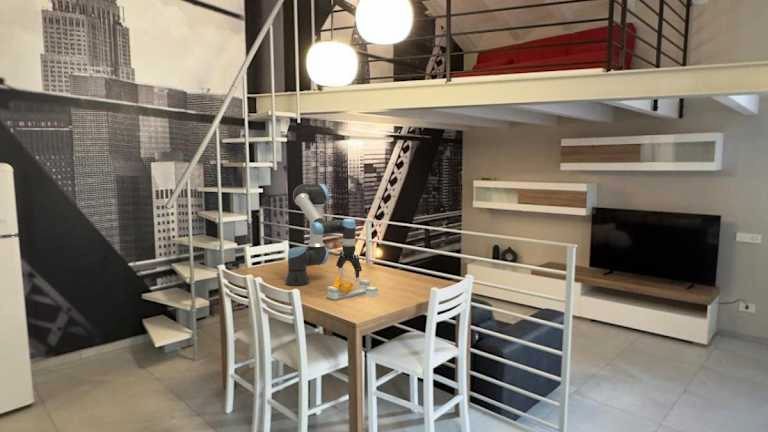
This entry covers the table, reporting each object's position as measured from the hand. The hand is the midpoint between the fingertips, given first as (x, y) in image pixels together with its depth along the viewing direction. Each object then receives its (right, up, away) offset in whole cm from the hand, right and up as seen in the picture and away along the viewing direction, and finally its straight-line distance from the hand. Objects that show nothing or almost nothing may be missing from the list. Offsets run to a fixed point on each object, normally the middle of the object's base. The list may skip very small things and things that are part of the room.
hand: (348, 280), depth 293 cm
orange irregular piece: (-4, -5, -5) cm, 8 cm away
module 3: (+14, -9, -1) cm, 16 cm away
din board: (0, -9, 0) cm, 9 cm away
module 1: (-8, -10, -8) cm, 15 cm away
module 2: (+9, -8, +9) cm, 15 cm away
